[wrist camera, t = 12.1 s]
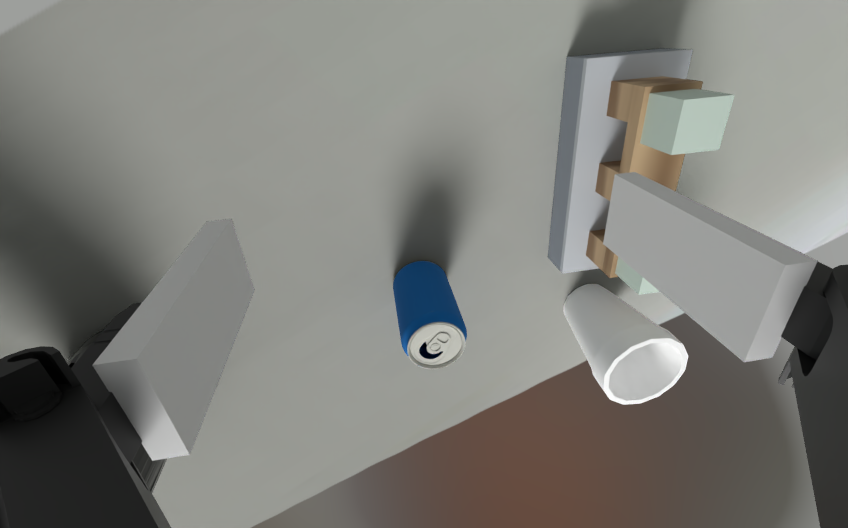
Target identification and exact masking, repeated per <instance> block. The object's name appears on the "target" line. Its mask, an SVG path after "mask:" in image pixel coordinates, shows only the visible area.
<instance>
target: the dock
mask: <svg viewBox="0 0 848 528" xmlns="http://www.w3.org/2000/svg"><path fill="white" fill-rule="evenodd" d="M692 52H693V49H668V48H662V49H650V50H639V51H627V52H615V53H604V54H592V55H581V56H569V57H567V61H566V71H565V82H564V92H563V103H562V114H561V124H560V135H559V145H558V156H557V166H556V177H555V187H554V198H553V208H552V219H551V229H550V240H549V250H548V258H549V259H550V260H551V261H552V262H553V264H554V265H555V266H556V267H557V268H558V269H559V271H560V272H561V273H570V272H577V271H584V270H591V269H598V268H599V267H598V266H596V265H595V264H594V263H593V262H592V261H591V260H590V259H589V258H588V257H587V256H586V250H587V244H588V237H589V231H594V230H602V229H606V223H607V217H608V211H609V205H610V201H609V200H607V199H606V198H604V197H603V196H601V195H600V194H598V193H597V192H595V189H596V183H597V176H598V169H599V163H603V162H612V161H621V159H622V153H623V147H624V141H625V135H626V130H627V124H628V122H625V121H622V120H618V119H615V118H612V117H609V116H606V115H607V108H608V101H609V94H610V87H611V81H617V80H628V79H639V78H649V77H660V76H665V77H672V78H680V79H686V78H687V74H688V69H689V65H690V61H691V56H692Z"/></svg>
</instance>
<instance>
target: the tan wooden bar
mask: <svg viewBox="0 0 848 528" xmlns="http://www.w3.org/2000/svg"><path fill="white" fill-rule="evenodd" d="M702 83H703V81H695V80H688V79H680V78H672V77H665V76H660V77H649V78H639V79H628V80H617V81H611V87H610V94H609V101H608V108H607V115H606V116H609V117H612V118H615V119H618V120H622V121H625V122H628V124H627V130H626V135H625V141H624V147H623V153H622V159H621V161H612V162H603V163H599V169H598V176H597V183H596V189H595V192H597V193H598V194H600V195H601V196H603V197H604V198H606V199H607V200H609V201H610V199H611V193H612V187H613V181H614V176H615V174H621V173H630V172H636V173H638V174H640V175H642V176H644V177H647V178H649V179H651V180H653V181H655V182H657V183H659V184H661V185H663V186H665V187H667V188H669V189H671V190H673V191H675V192H676V188H677V184H678V180H679V176H680V172H681V168H682V164H683V160H684V156H685V154H677V155H670V154H667V153H664V152H662V151H659V150H656V149H654V148H651V147H648V146H646V145H643V144H640V141H641V135H642V130H643V125H644V120H645V115H646V109H647V104H648V99H649V94H650V93H657V92H667V91H677V90H687V89H700V90H701V87H702ZM604 235H605V229H602V230H594V231H589V237H588V244H587V250H586V256H587V257H588V258H589V259H590V260H591V261H592V262H593V263H594V264H595V265H596V266H598V267H599V268H600V269H601V270H602V271H603V272H604V273H605V274H606V275H607V276H608V277H609V278H614V277H619V276H617V275H616V274H615V271H616V266H617V260H618V256H617V255H616V254H615V253H613V252H612V251H611V250H610V249H609V248H607V247H606V246H605V245H604V244H603V241H604Z"/></svg>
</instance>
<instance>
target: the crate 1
mask: <svg viewBox="0 0 848 528" xmlns="http://www.w3.org/2000/svg"><path fill="white" fill-rule="evenodd" d="M615 274H616V275H617V276H619V277H620V278H621V279H622V280H623V281H624V282H625V283H626V284H627V285H628V286H629V287H631V288H632V289H633V290H634V291H635V292H636V293H637V294H638V295H641V294H648V293H655V292H660V291H659V290H657V289H656V288H655V287H654V286H653V285H652V284H650V283H649V282H648V281H647V280H646V279H644V278H643V277H642V276H641V275H640V274H638V273H637V272H636V271H635V270H634V269H632V268H631V267H630V266H629V265H628V264H626V263H625V262H624V261H623V260H622V259H621V258H619V257H618V260H617V266H616V271H615Z"/></svg>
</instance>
